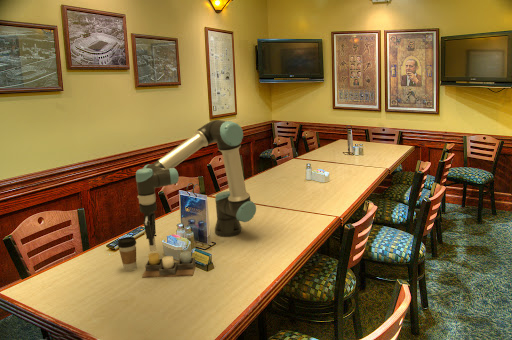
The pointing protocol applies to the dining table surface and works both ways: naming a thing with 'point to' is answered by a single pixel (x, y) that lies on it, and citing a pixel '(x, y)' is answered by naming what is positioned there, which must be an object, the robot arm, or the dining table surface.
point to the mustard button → (154, 258)
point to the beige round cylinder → (168, 262)
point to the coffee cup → (128, 253)
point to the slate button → (185, 257)
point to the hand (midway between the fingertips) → (153, 250)
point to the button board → (175, 271)
